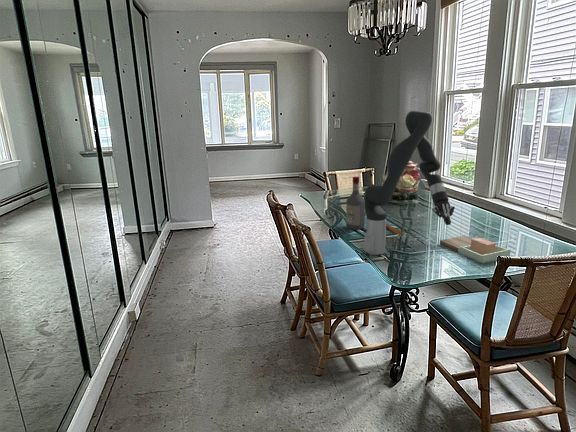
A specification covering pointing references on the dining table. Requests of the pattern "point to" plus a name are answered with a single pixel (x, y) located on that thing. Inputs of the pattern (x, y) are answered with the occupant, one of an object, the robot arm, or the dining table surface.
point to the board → (456, 242)
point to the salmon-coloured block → (482, 246)
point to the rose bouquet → (406, 185)
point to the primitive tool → (393, 229)
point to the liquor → (355, 208)
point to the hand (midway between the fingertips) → (448, 224)
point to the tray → (483, 258)
